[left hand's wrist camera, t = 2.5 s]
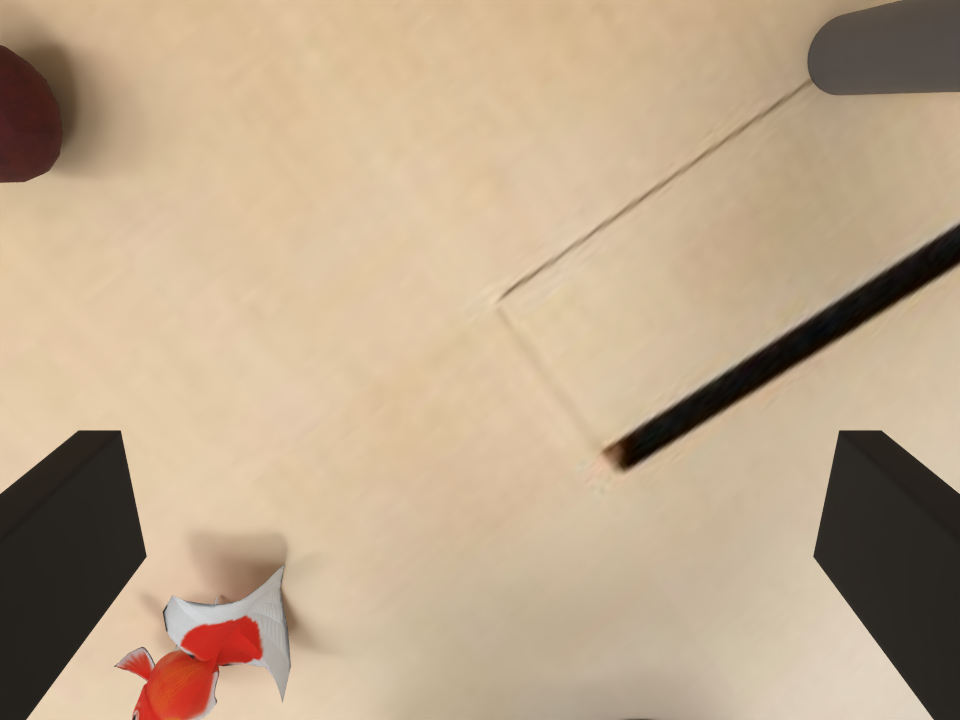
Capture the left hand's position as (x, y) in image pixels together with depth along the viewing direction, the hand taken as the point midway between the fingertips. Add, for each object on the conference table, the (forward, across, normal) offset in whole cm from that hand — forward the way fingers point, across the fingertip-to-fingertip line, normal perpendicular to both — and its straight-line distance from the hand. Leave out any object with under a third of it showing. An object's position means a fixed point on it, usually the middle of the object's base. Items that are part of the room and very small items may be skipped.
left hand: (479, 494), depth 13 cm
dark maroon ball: (+32, +27, -6) cm, 42 cm away
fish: (+32, +20, +30) cm, 48 cm away
